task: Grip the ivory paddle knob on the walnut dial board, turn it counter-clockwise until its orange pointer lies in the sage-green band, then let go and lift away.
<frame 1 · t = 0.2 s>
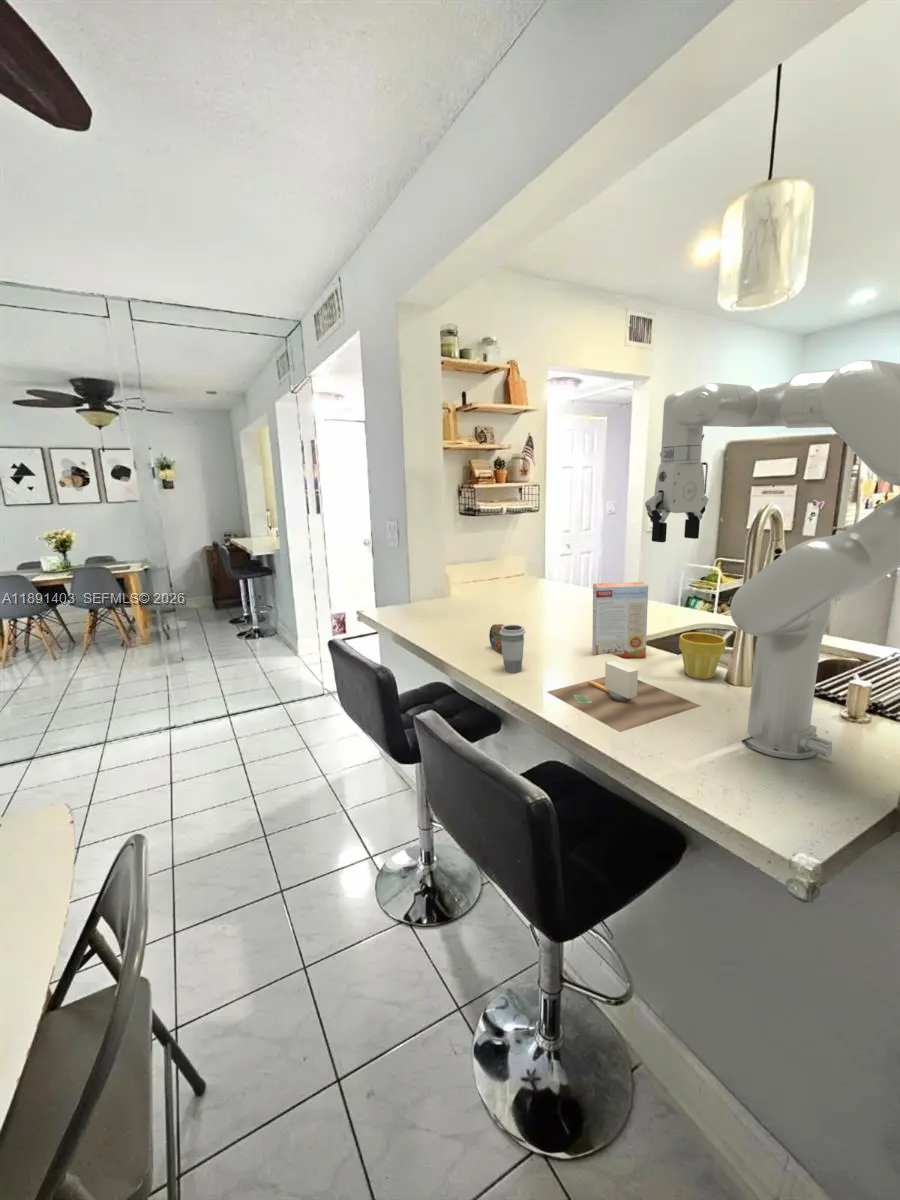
hand: (675, 539, 106), 36 cm above the counter, tool pointing down, fingers open, 9 cm apart
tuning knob: (610, 677, 113), point 5 cm above the counter, hinge at 0.0°
dial board: (620, 704, 112), on the counter
cup: (512, 670, 136), on the counter
tin: (505, 654, 150), on the counter
plant pot: (699, 675, 127), on the counter
cracker box: (617, 655, 144), on the counter
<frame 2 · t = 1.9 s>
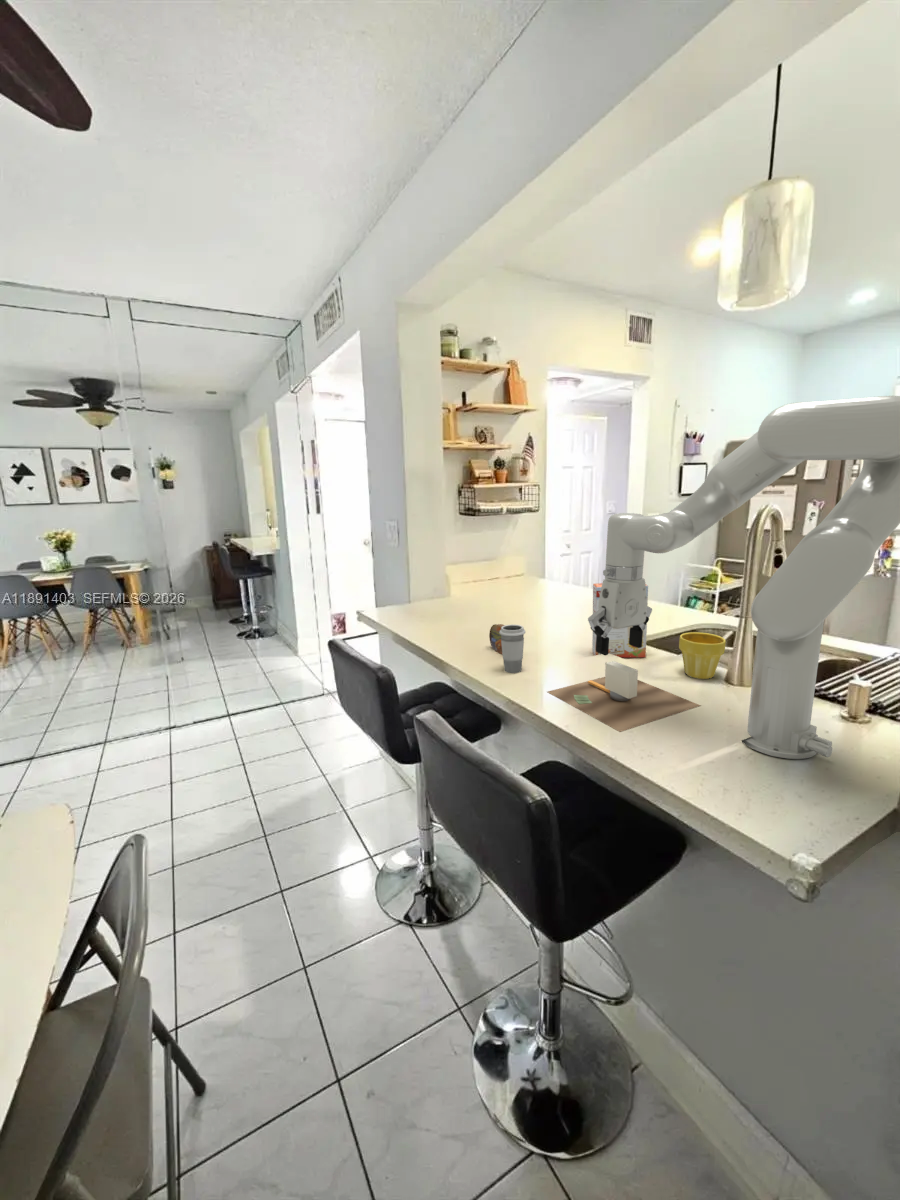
hand: (618, 649, 109), 13 cm above the counter, tool pointing down, fingers open, 9 cm apart
nothing on the counter moved.
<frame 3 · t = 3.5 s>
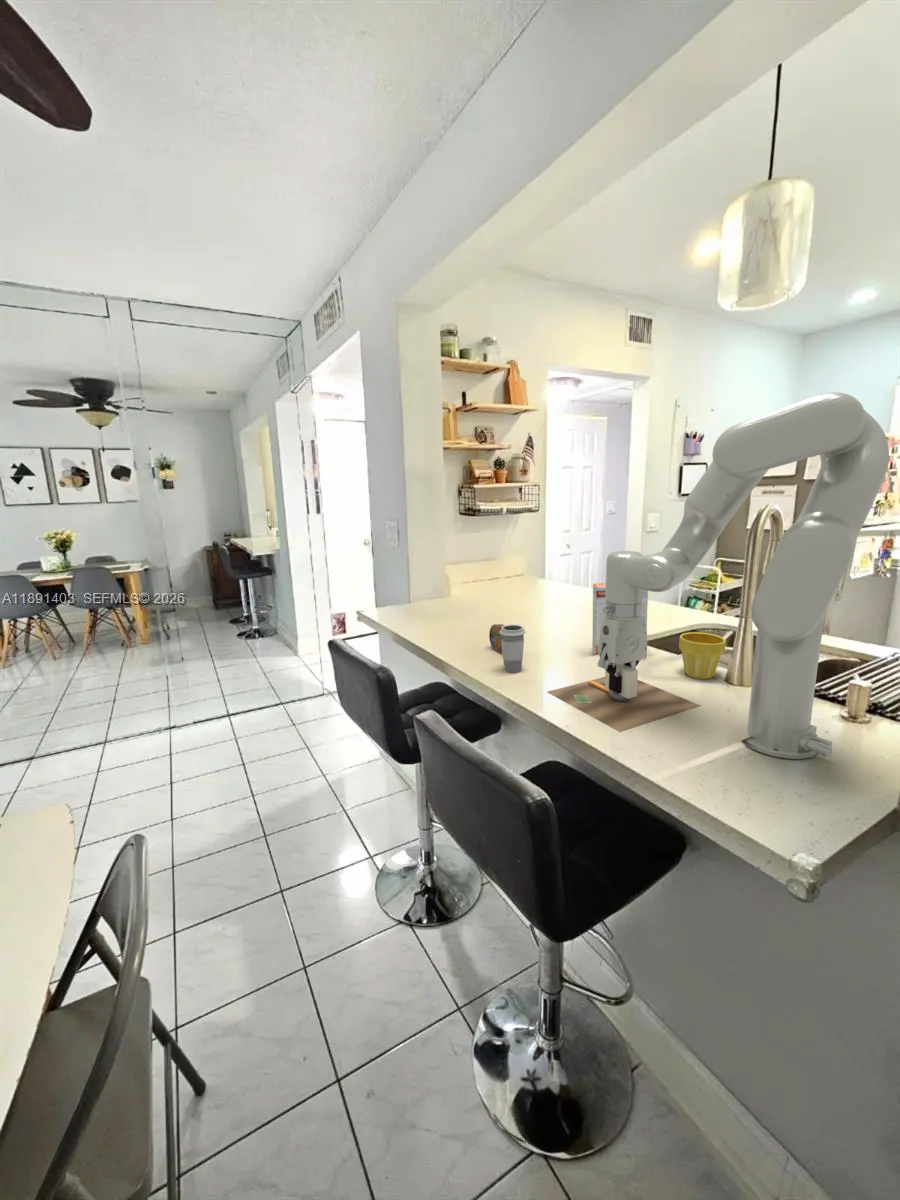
hand: (620, 689, 111), 4 cm above the counter, tool pointing down, fingers closed on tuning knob, 2 cm apart
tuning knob: (610, 677, 113), point 5 cm above the counter, hinge at 0.0°, touching gripper
everything else where it was.
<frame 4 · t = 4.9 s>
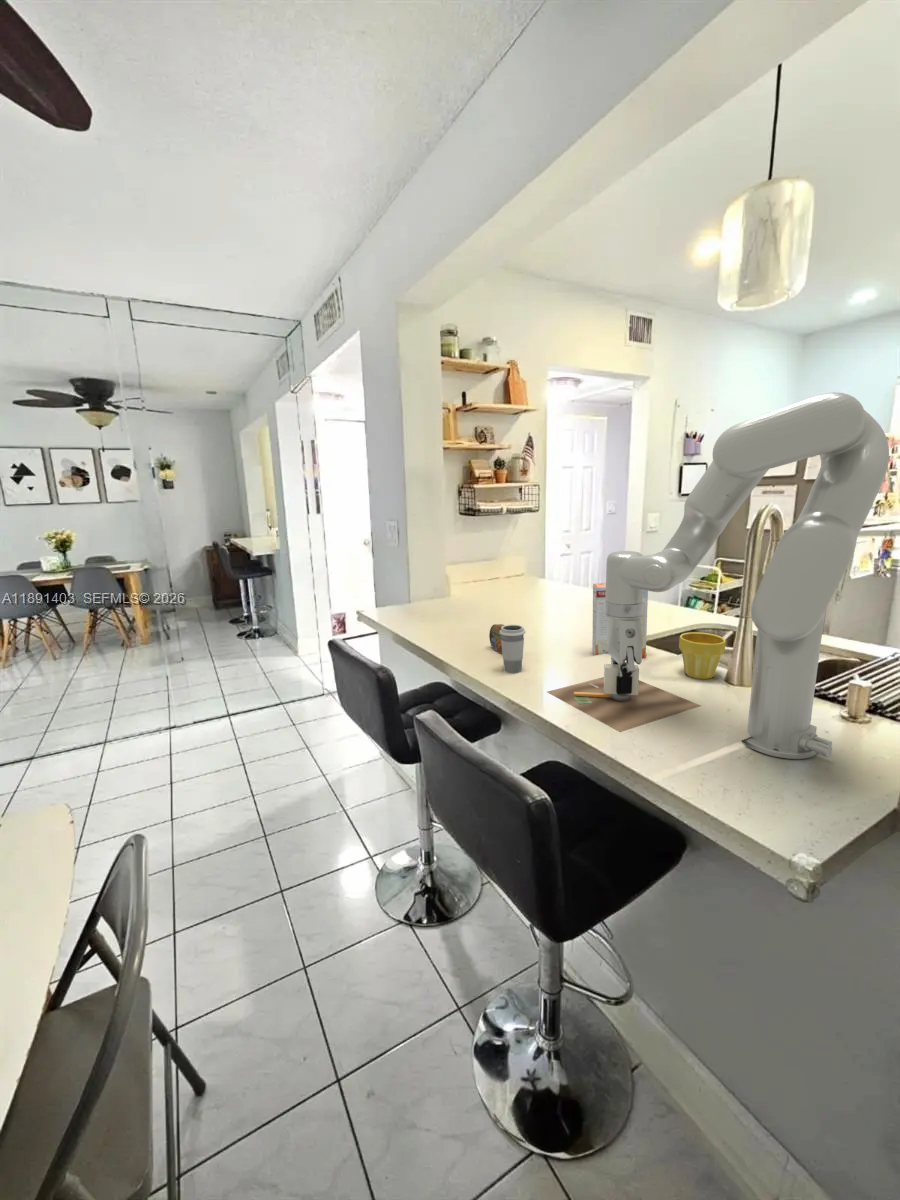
hand: (620, 689, 111), 4 cm above the counter, tool pointing down, fingers closed on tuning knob, 3 cm apart
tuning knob: (605, 681, 111), point 5 cm above the counter, hinge at 51.4°, touching gripper
everything else where it was.
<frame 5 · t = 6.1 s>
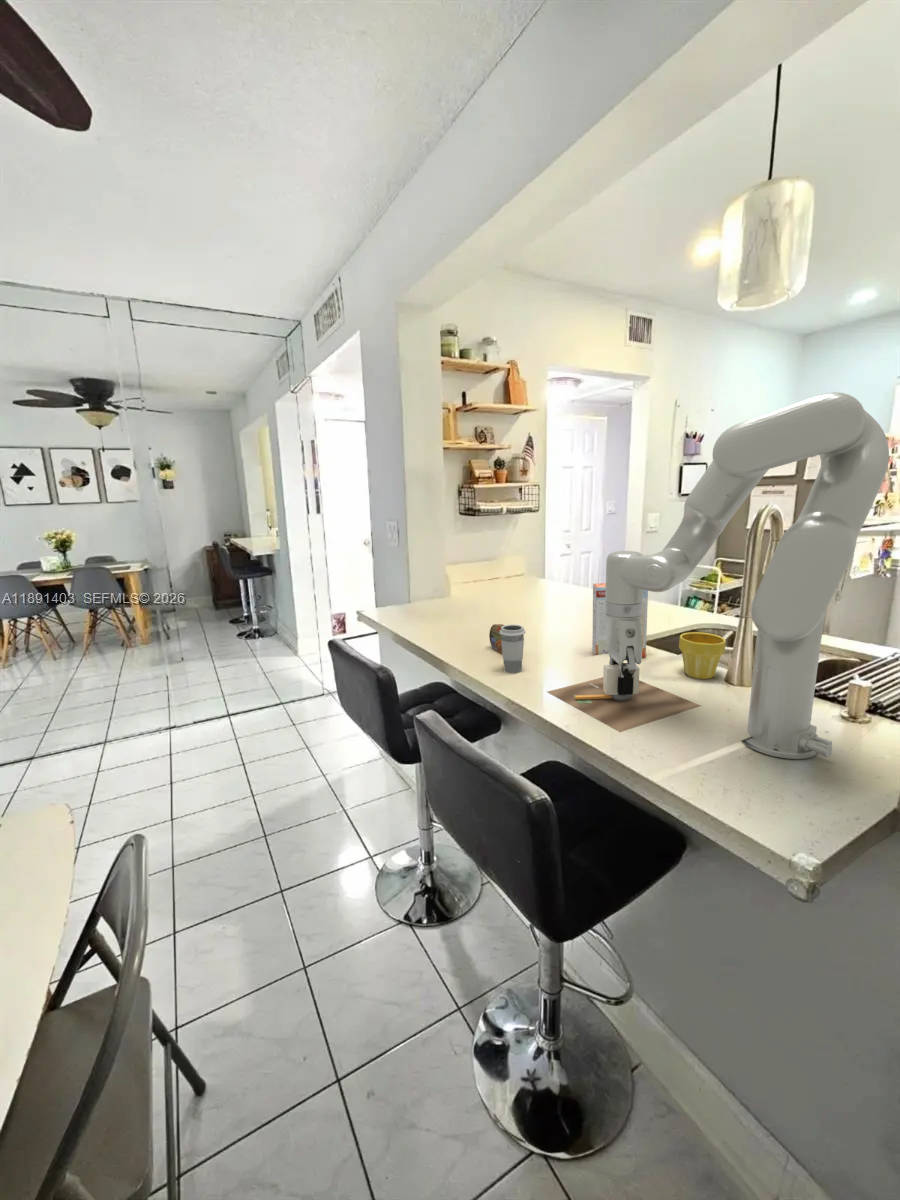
hand: (620, 688, 111), 4 cm above the counter, tool pointing down, fingers open, 5 cm apart
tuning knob: (606, 682, 111), point 5 cm above the counter, hinge at 63.5°
everything else where it was.
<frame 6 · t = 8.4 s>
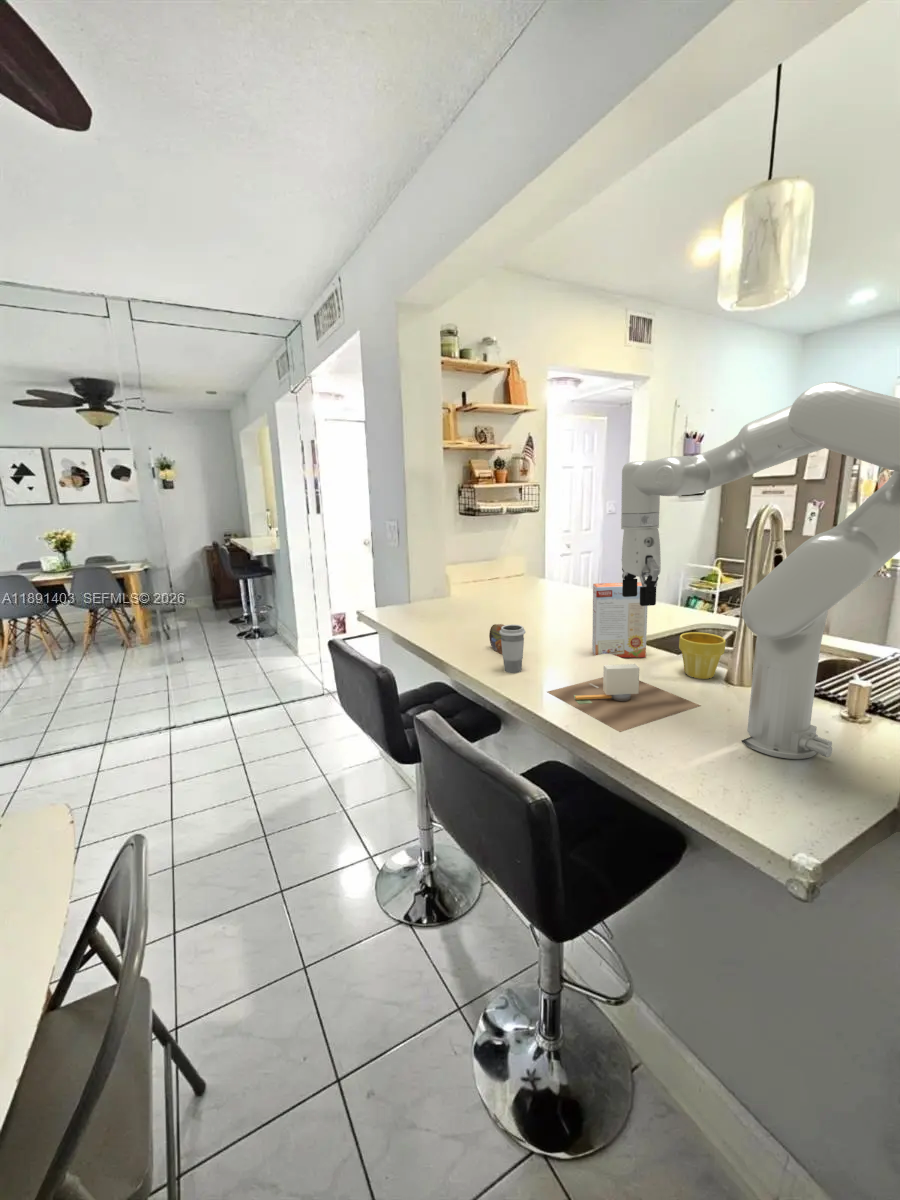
hand: (638, 600, 109), 23 cm above the counter, tool pointing down, fingers open, 9 cm apart
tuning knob: (606, 682, 111), point 5 cm above the counter, hinge at 64.2°
everything else where it was.
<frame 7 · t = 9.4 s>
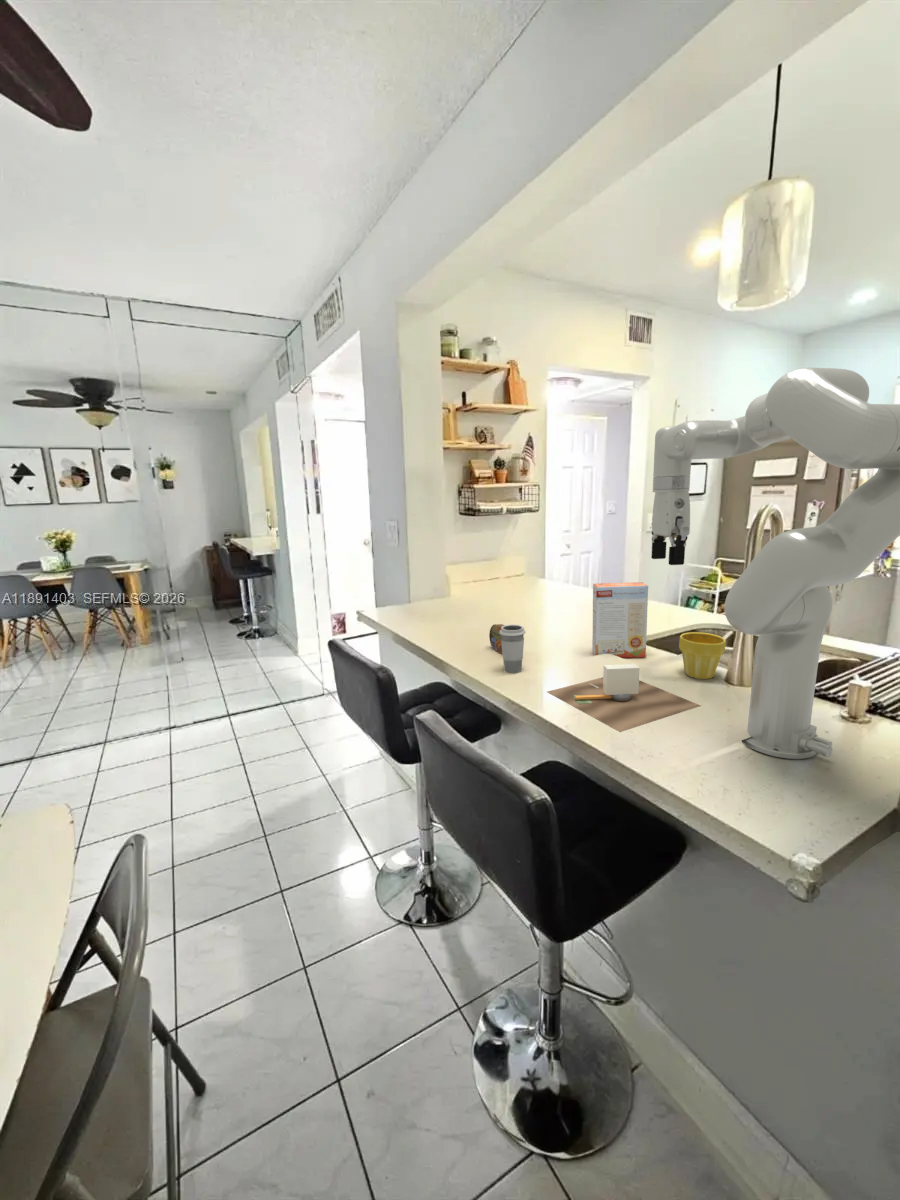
hand: (666, 561, 115), 30 cm above the counter, tool pointing down, fingers open, 9 cm apart
nothing on the counter moved.
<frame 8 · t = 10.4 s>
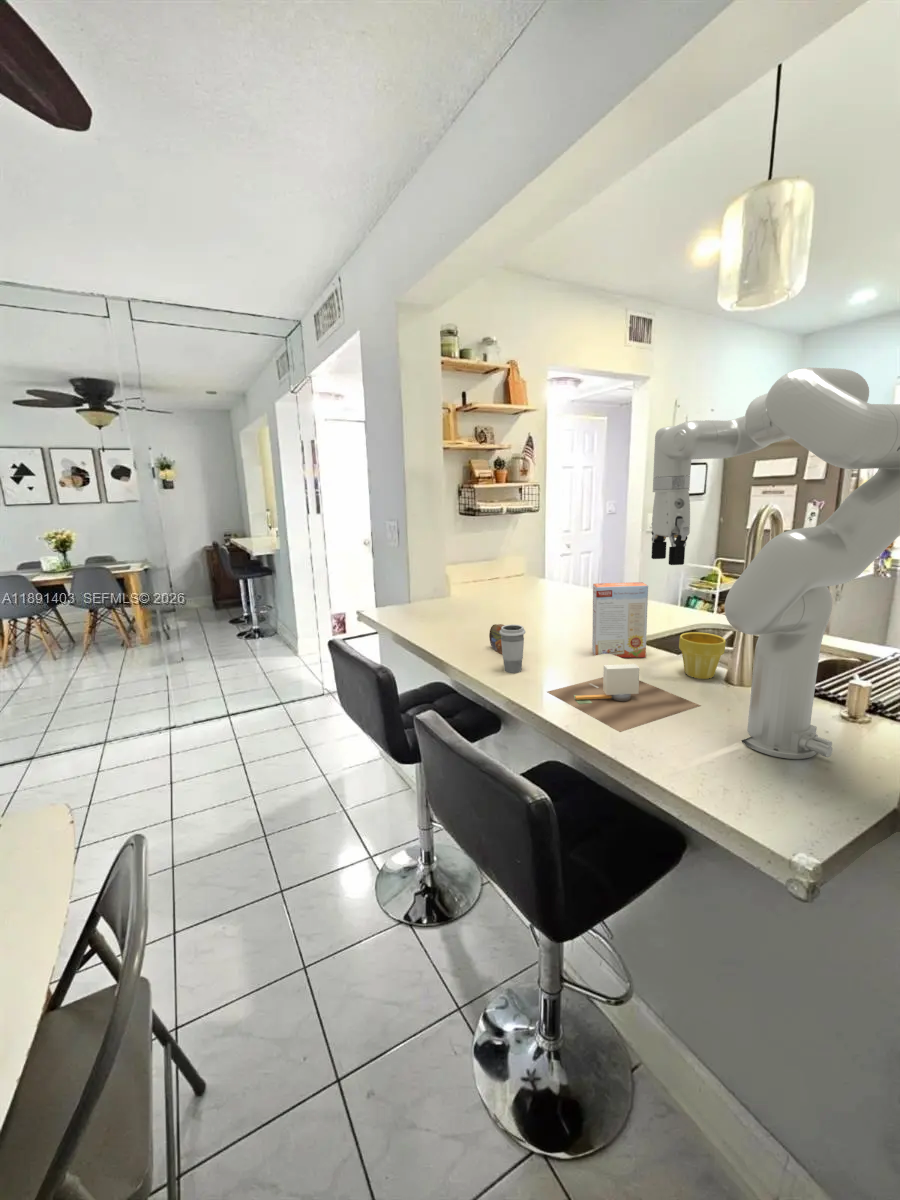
hand: (666, 561, 115), 30 cm above the counter, tool pointing down, fingers open, 9 cm apart
nothing on the counter moved.
at the end: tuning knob at +64° (first picture: +0°); the gripper is holding nothing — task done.
